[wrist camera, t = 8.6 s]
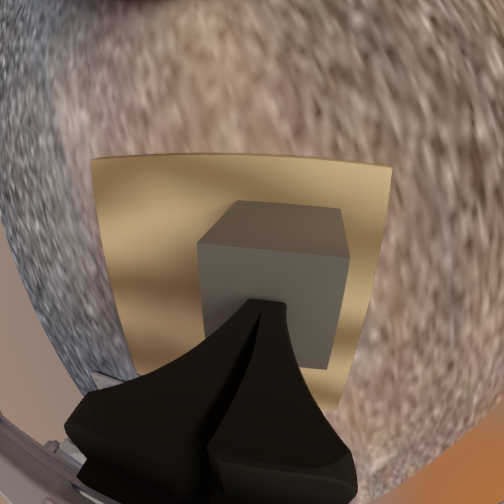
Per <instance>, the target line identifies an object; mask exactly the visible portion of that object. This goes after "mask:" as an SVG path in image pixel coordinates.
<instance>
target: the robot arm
mask: <svg viewBox="0 0 504 504" xmlns="http://www.w3.org/2000/svg"><path fill="white" fill-rule="evenodd" d="M286 311H287V305H286V304H285V303H284V302H276V301H268V300H260V299H252V298H250V299H248V300H247V301H246V302H245V303H244V304H243V305H242V306H241V307H240V308H239V309H238V310H237V311H236V312H235V313H234V314H233V315H232V316H231V317H230V318H229V319H228V320H227V321H226V322H225V323H224V324H222V325H221V326H220V327H219V328H218V329H217V330H216V331H215V332H213V333H212V334H211V335H210V336H208V337H207V338H206V339H205V340H203V341H202V342H201V343H199V344H198V345H197V346H195V347H194V348H192V349H191V350H190V351H188V352H187V353H185V354H183V355H182V356H180V357H179V358H177V359H175V360H173V361H172V362H170V363H168V364H166V365H164V366H162V367H160V368H158V369H156V370H154V371H152V372H150V373H147V374H145V375H143V376H140V377H138V378H135V379H132V380H130V381H127V382H122V381H119V380H116V379H114V378H111V377H108V376H105V375H103V374H100V373H97V372H92V374H91V375H92V377H93V379H94V381H95V383H96V385H97V387H98V389H99V390H96V391H91V392H88V393H87V394H86V395H85V397H84V398H83V399H82V401H81V402H80V403H79V404H78V406H77V407H76V408H75V410H74V411H73V413H72V414H71V416H70V417H69V418H68V420H67V422H66V423H65V424H64V428H65V431H66V434H67V435H68V438H67V439H65V440H64V441H63V443H62V444H61V446H60V447H59V445H60V443H59V442H58V441H56V440H54V441H48V442H47V443H46V444H45V445H44V446H43V445H41V444H39V443H38V442H37V441H35V440H34V439H33V438H31V437H30V436H28V435H27V434H25V433H24V432H23V431H21V430H20V429H19V428H18V427H16V426H15V425H14V424H12V423H11V422H10V421H9V420H7V419H6V418H5V417H4V416H3V415H2V413H1V412H0V493H1V494H2V495H3V496H4V497H5V499H6V500H7V501H9V503H10V504H349V503H350V502H351V501H352V500H353V499H354V498H355V496H356V494H357V492H358V483H357V474H356V469H355V465H354V461H353V457H352V454H351V451H350V450H349V448H348V447H347V446H346V445H345V444H344V442H343V441H342V440H341V439H340V437H339V436H338V435H337V433H336V432H335V431H334V429H333V428H332V426H331V425H330V424H329V422H328V421H327V419H326V418H325V416H324V415H323V413H322V411H321V410H320V408H319V406H318V405H317V403H316V401H315V399H314V398H313V396H312V394H311V392H310V390H309V388H308V386H307V384H306V382H305V380H304V378H303V375H302V373H301V371H300V368H299V365H298V363H297V360H296V357H295V354H294V351H293V348H292V344H291V340H290V336H289V332H288V326H287V319H286ZM499 504H504V501H503V502H501V503H499Z"/></svg>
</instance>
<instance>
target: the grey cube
mask: <svg viewBox="0 0 504 504" xmlns="http://www.w3.org/2000/svg"><path fill="white" fill-rule="evenodd" d="M197 256H198V269H199V282H200V293H201V304H202V315H203V325H204V334H205V339H206V338H207V337H208V336H210V335H211V334H212V333H213V332H215V331H216V330H217V329H218V328H219V327H220V326H221V325H222V324H224V323H225V322H226V321H227V320H228V319H229V318H230V317H231V316H232V315H233V314H234V313H235V312H236V311H237V310H238V309H239V308H240V307H241V306H242V305H243V304H244V303H245V302H246V301H247V300H248V299H250V298H252V299H260V300H268V301H276V302H284V303H285V304H286V305H287V311H286V319H287V326H288V332H289V336H290V340H291V344H292V348H293V351H294V354H295V357H296V360H297V363H298V365H299V367H302V368H311V369H321V370H327V367H328V364H329V360H330V355H331V351H332V347H333V343H334V339H335V334H336V330H337V325H338V321H339V316H340V311H341V306H342V301H343V296H344V291H345V286H346V280H347V275H348V269H349V263H350V254H349V248H348V243H347V238H346V233H345V228H344V223H343V218H342V213H341V209H339V208H329V207H319V206H308V205H297V204H285V203H273V202H260V201H245V200H237V201H236V202H235V203H234V204H233V205H232V206H231V207H230V208H229V209H228V210H227V211H226V212H225V213H224V214H223V215H222V216H221V217H220V219H219V220H218V221H217V222H216V223H215V224H214V225H213V226H212V227H211V228H210V229H209V230H208V231H207V232H206V233H205V234H204V235H203V237H202V238H201V239H200V240H199V241H198V242H197Z"/></svg>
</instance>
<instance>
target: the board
mask: <svg viewBox="0 0 504 504" xmlns="http://www.w3.org/2000/svg"><path fill="white" fill-rule="evenodd" d="M91 171H92V180H93V188H94V196H95V203H96V210H97V216H98V223H99V229H100V234H101V240H102V245H103V250H104V255H105V260H106V265H107V269H108V274H109V278H110V282H111V287H112V291H113V295H114V299H115V303H116V306H117V310H118V314H119V317H120V321H121V325H122V328H123V331H124V335H125V338H126V341H127V344H128V348H129V351H130V354H131V357H132V360H133V363H134V366H135V369H136V372H137V373H138V374H142V375H145V374H147V373H150V372H152V371H154V370H156V369H158V368H160V367H162V366H164V365H166V364H168V363H170V362H172V361H173V360H175V359H177V358H179V357H180V356H182V355H183V354H185V353H187V352H188V351H190V350H191V349H192V348H194V347H195V346H197V345H198V344H199V343H201V342H202V341H203V340H205V334H204V325H203V315H202V304H201V293H200V282H199V269H198V256H197V242H198V241H199V240H200V239H201V238H202V237H203V235H204V234H205V233H206V232H207V231H208V230H209V229H210V228H211V227H212V226H213V225H214V224H215V223H216V222H217V221H218V220H219V219H220V217H221V216H222V215H223V214H224V213H225V212H226V211H227V210H228V209H229V208H230V207H231V206H232V205H233V204H234V203H235V202H236V201H237V200H245V201H260V202H273V203H285V204H297V205H308V206H319V207H329V208H339V209H341V213H342V218H343V223H344V228H345V233H346V238H347V243H348V248H349V254H350V263H349V269H348V275H347V280H346V286H345V291H344V296H343V301H342V306H341V311H340V316H339V321H338V325H337V330H336V334H335V339H334V343H333V347H332V351H331V355H330V360H329V364H328V367H327V370H321V369H311V368H302V367H299V368H300V371H301V373H302V375H303V378H304V380H305V382H306V384H307V386H308V388H309V390H310V392H311V394H312V396H313V398H314V399H315V401H316V403H317V405H318V406H319V408H320V409H330V410H336V409H337V406H338V403H339V400H340V398H341V395H342V392H343V389H344V386H345V383H346V380H347V377H348V374H349V371H350V368H351V364H352V361H353V358H354V355H355V351H356V348H357V345H358V341H359V338H360V334H361V330H362V327H363V323H364V319H365V315H366V312H367V308H368V304H369V299H370V295H371V291H372V287H373V282H374V278H375V273H376V268H377V263H378V259H379V253H380V248H381V243H382V237H383V231H384V226H385V219H386V213H387V206H388V199H389V192H390V184H391V175H392V168H391V167H390V166H388V165H380V164H373V163H365V162H357V161H348V160H338V159H328V158H317V157H304V156H289V155H271V154H244V153H174V154H148V155H130V156H116V157H103V158H96V159H93V160H91Z"/></svg>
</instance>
